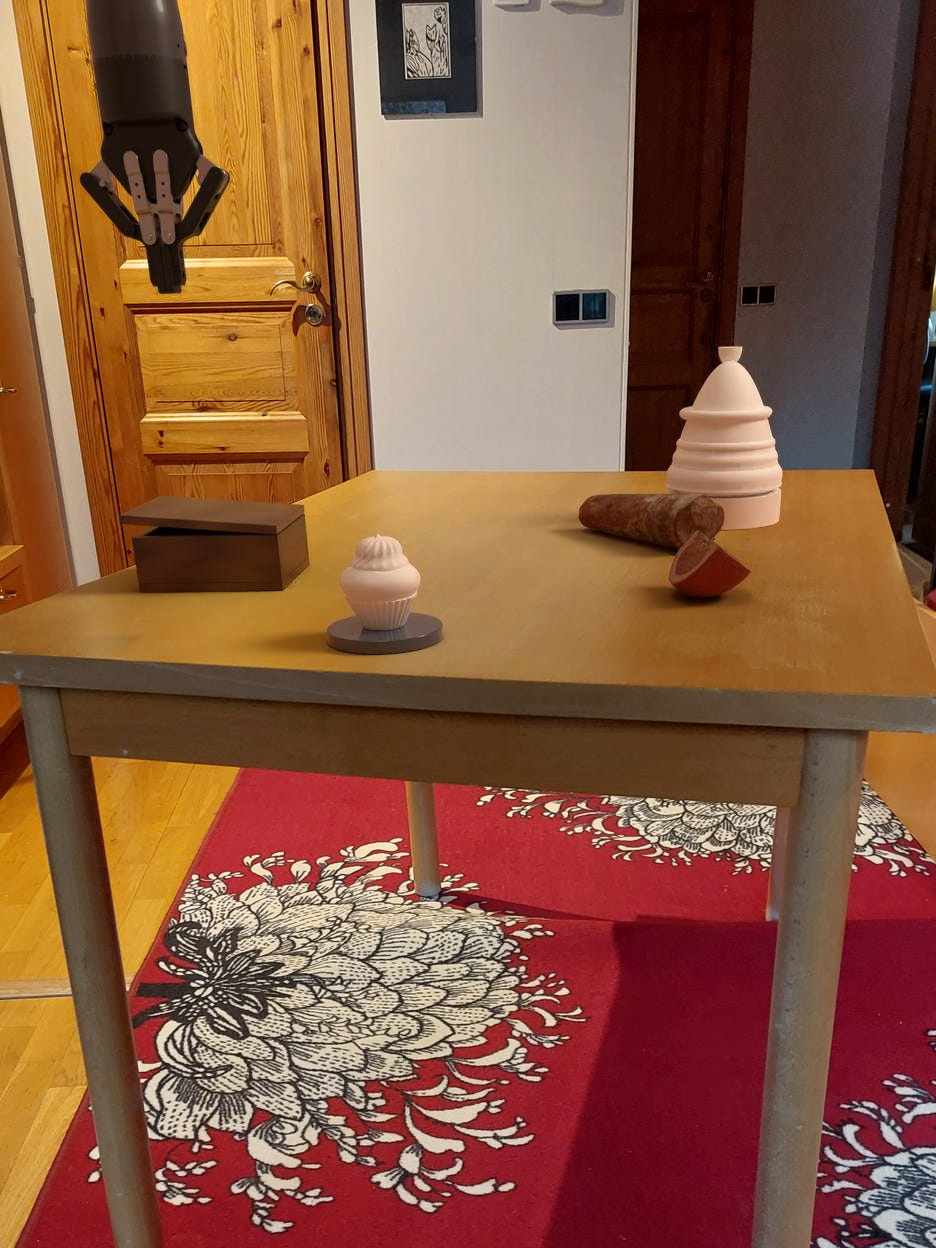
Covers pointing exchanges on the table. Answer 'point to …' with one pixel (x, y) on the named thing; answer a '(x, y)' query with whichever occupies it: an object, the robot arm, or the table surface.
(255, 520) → the lid
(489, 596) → the table surface
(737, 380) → the honey pot
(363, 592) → the muffin
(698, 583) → the fruit slice
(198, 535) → the chest
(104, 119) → the robot arm
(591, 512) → the brown cylinder
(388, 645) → the plate
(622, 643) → the table surface
